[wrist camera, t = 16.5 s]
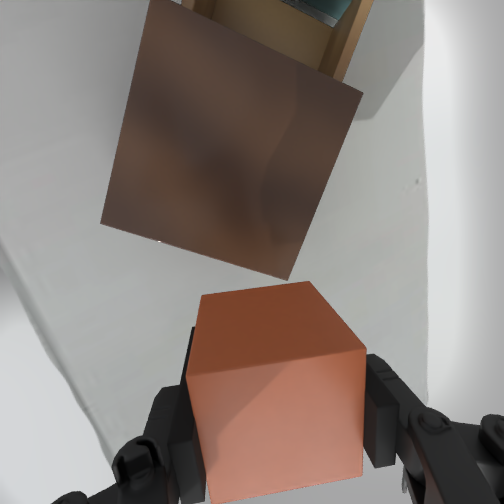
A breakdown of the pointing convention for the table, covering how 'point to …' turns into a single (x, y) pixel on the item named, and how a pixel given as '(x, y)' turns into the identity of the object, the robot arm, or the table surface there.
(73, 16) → the table surface
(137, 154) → the cabinet
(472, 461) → the robot arm
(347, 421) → the block
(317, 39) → the drawer
